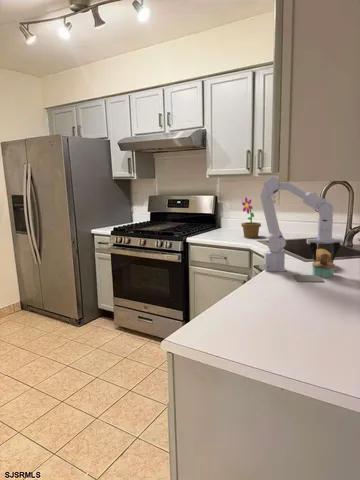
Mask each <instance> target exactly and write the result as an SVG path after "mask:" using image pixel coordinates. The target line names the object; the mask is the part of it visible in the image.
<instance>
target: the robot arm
mask: <svg viewBox="0 0 360 480" xmlns="http://www.w3.org/2000/svg"><path fill="white" fill-rule="evenodd" d="M279 190H281V191H288V192H290V193H292V194H293V195H294V196H297V197H299V198H300V199H302V202H303V204H305V205H306V206H308V207H309V208H311V209H313V210H314V211H317V212H318V214H319V215H318V226H317V237H315V238H307V239H306V244H307V245H308V246H309V248H310V251H311V254H312V260H313V259H314V260H316V250H317V248H318V245H317V244H321V245H323V244H326V245H327V244H330V247H331V248H330V249H331V252H330V253H331V259H332V260H334V261H335V259H336V255H337V253H338V251H339V249H340V248H341V245H342V244H343V241H344V240H343V239H342V238H333V225H334V224H333V222H334V219H333V217H334V215H333V214H334V213H333V212H334V210H335V207H334V204H333V203H332V202H331V201H330V200H327V199H326V198H325V197H324V198H322V197H321V196H319V195H317V194H318V193H317V192H314V191H310V192H309V191H308V192H306V191H305V190H304V189H302V188H300V186H297V185H295V184H294V183H293V182H291V183H279V180H278V176H277V175H275V176H269V177H268V178H267V179H266V180H265V181H264V182H263V186H262V190H261V193H260V200H261V206H262V210H263V213H264V218H265V222H266V225H267V230H268V237H267V239H268V242H267V244H268V245H267V246H268V251H267V250H266V251H264V253H263V254H264V256H263V258H264V259H263V267H264V270H265V271H266V272H287V269H286V268H285V267H286V266H285V259H286V257H285V255H286V249H285V246H286V245H287V240H286V239H285V237H284V235H283V233H282V231H281V230H280V225H279V222H278V216H277V213H276V208H275V205H274V201H273V198H274V197H275V194H276V193H277V192H279Z"/></svg>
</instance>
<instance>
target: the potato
mask: <svg viewBox="0 0 360 480" xmlns="http://www.w3.org/2000/svg"><path fill="white" fill-rule="evenodd" d="M321 253H325V254H328V259H327V262H330V263H333V264H334V261H335V259H334V260H332V259H331V252H329V251H328V250H327V249H324V248H318V249H317V250H316V260H314V259H313V258H312V261H313V262H318V261H320V254H321Z"/></svg>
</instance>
